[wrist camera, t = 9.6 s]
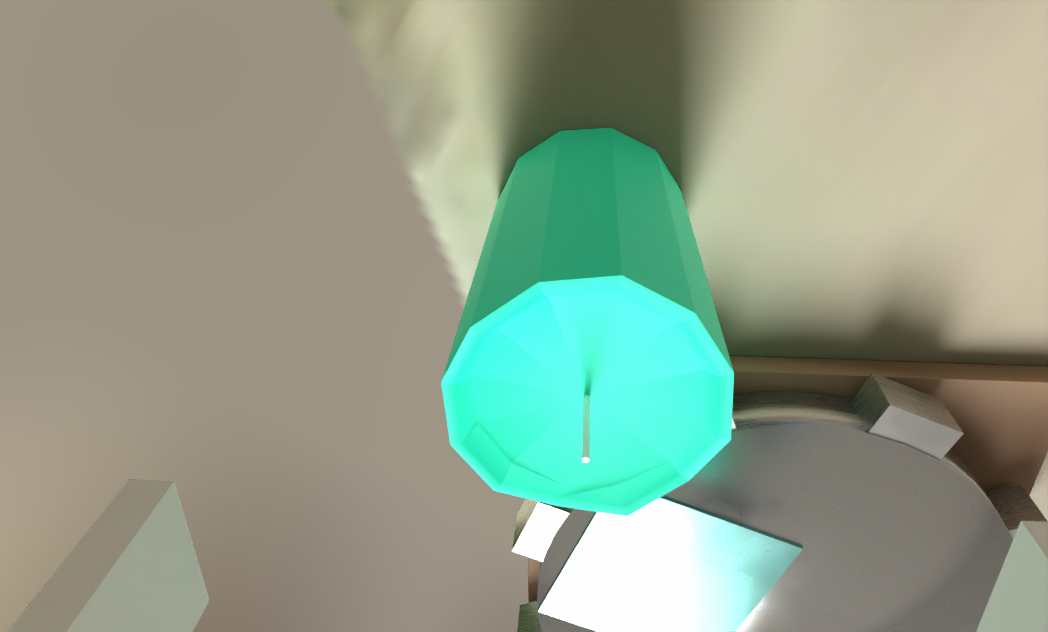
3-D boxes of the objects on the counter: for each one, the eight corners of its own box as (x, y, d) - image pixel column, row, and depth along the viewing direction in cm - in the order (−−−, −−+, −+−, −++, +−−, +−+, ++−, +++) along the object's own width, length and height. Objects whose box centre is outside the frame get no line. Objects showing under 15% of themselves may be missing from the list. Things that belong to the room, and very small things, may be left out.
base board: (528, 348, 27) (526, 363, 26) (1058, 366, 26) (1075, 383, 25) (531, 674, 36) (529, 694, 35) (927, 700, 35) (935, 722, 34)
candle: (460, 224, 25) (363, 462, 15) (583, 84, 23) (574, 251, 12) (594, 332, 27) (594, 616, 16) (723, 212, 24) (823, 457, 14)
